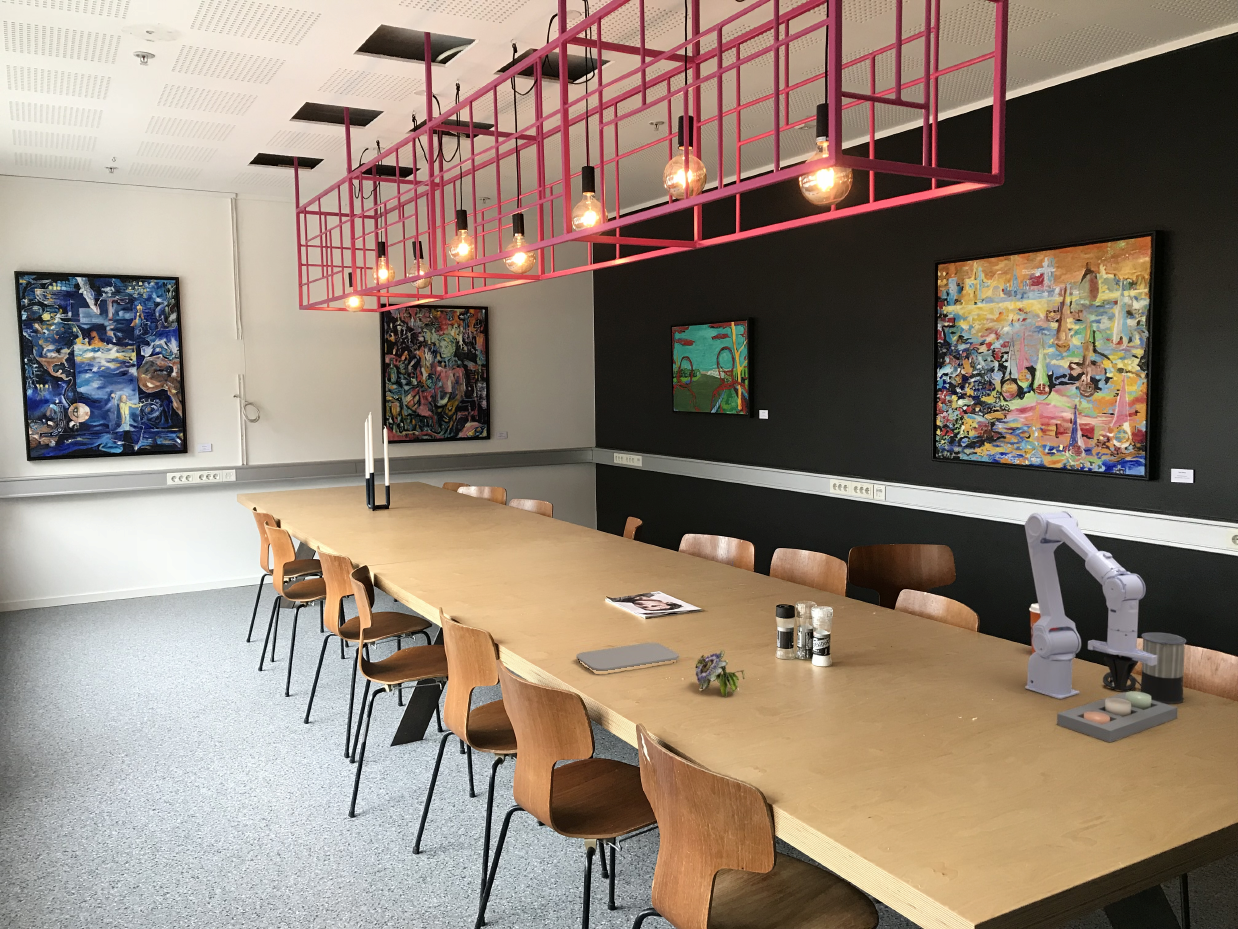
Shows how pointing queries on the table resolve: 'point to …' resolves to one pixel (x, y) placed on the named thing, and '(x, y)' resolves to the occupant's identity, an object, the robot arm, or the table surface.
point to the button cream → (1118, 706)
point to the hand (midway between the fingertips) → (1120, 688)
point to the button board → (1116, 719)
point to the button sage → (1139, 699)
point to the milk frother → (1160, 669)
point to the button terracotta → (1097, 717)
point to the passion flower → (716, 672)
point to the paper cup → (1035, 619)
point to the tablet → (627, 656)
